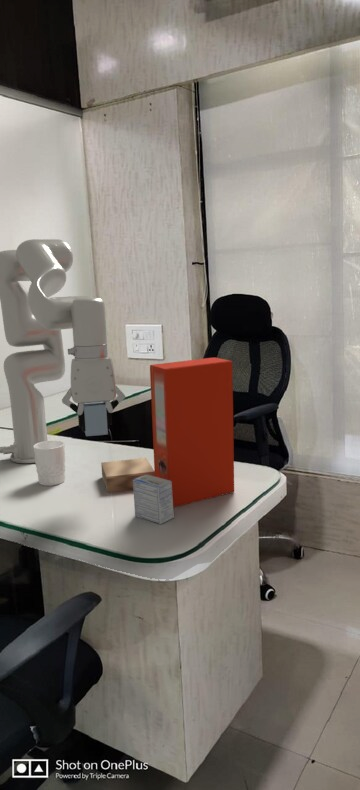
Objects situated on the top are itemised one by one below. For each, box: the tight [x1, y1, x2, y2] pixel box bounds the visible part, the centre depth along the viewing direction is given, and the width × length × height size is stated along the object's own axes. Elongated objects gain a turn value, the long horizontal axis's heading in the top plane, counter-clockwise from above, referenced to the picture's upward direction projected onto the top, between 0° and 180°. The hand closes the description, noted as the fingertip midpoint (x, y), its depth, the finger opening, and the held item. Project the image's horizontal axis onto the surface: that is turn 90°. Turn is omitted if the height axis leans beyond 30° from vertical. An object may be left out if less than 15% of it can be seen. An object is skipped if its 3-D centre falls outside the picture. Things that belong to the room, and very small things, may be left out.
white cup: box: [33, 440, 66, 487], centre depth 159 cm, size 8×8×10 cm
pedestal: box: [100, 457, 155, 493], centre depth 157 cm, size 12×12×4 cm
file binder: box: [149, 357, 235, 508], centre depth 143 cm, size 8×17×32 cm, turn 119°
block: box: [83, 402, 109, 437], centre depth 143 cm, size 5×5×7 cm
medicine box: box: [132, 475, 175, 525], centre depth 133 cm, size 8×4×9 cm, turn 48°
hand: (95, 428), depth 143 cm, fingers closed on block, 5 cm apart
